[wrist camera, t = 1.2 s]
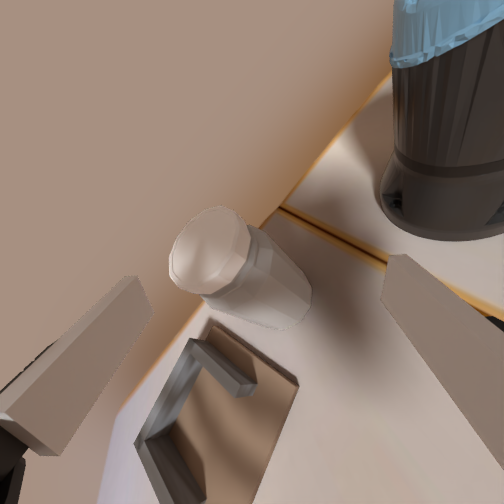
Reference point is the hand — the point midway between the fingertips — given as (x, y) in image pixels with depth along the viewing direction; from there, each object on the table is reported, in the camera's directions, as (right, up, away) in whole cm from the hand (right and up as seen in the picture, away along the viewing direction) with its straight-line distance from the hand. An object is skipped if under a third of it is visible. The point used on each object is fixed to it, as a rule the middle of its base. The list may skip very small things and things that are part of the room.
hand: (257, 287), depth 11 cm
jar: (+4, -5, +21) cm, 22 cm away
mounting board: (-5, -21, +17) cm, 28 cm away
